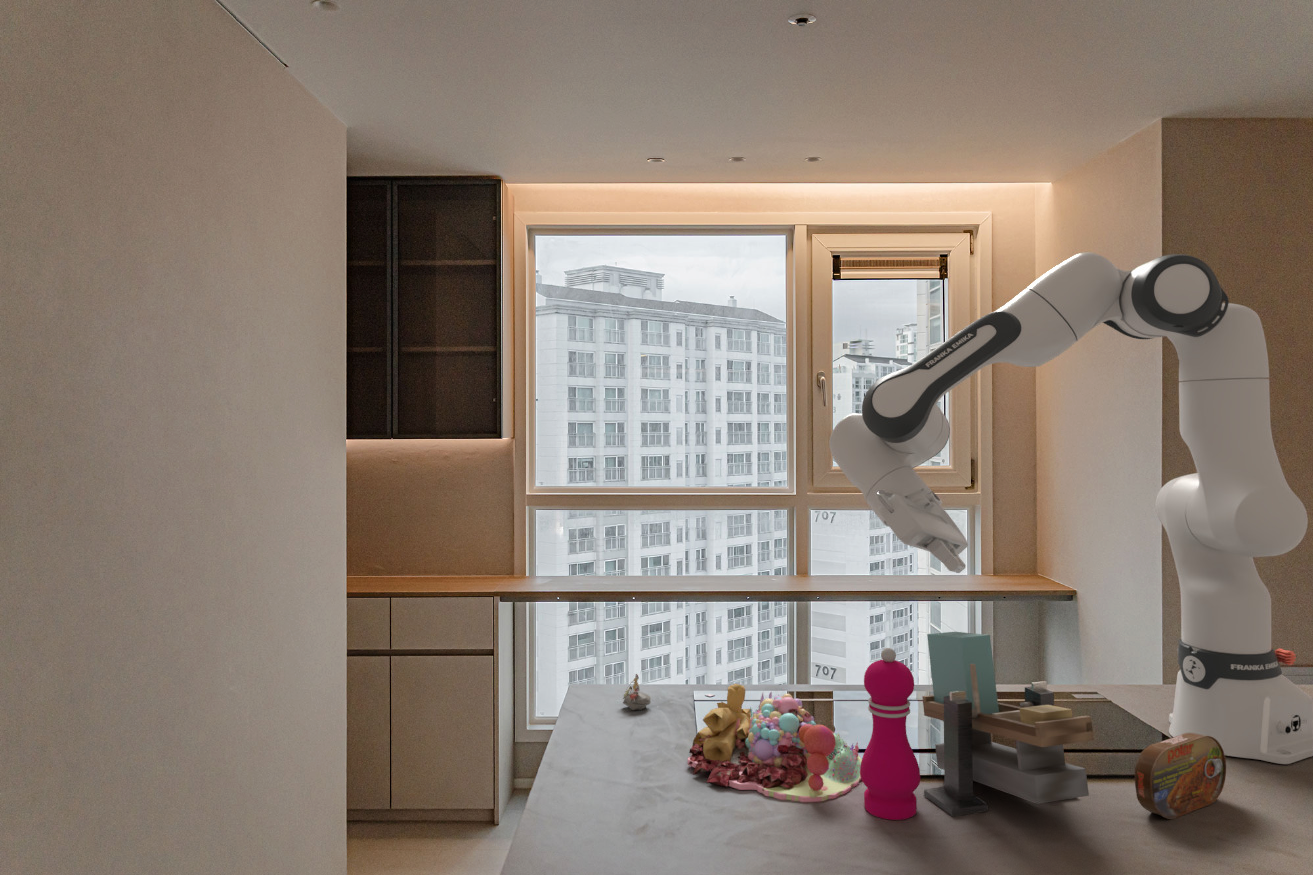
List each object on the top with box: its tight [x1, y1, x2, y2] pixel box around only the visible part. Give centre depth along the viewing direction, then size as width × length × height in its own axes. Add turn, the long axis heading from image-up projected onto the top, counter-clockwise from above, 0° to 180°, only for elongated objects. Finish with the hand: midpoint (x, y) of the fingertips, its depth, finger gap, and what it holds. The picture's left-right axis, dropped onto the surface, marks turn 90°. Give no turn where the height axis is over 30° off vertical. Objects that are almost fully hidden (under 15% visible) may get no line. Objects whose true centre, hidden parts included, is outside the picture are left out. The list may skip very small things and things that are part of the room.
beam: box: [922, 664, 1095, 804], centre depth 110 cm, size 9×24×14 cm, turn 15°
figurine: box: [622, 673, 652, 711], centre depth 146 cm, size 5×4×6 cm
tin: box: [1134, 733, 1227, 820], centre depth 106 cm, size 15×3×8 cm, turn 117°
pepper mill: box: [860, 647, 921, 821], centre depth 107 cm, size 7×7×20 cm
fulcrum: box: [923, 680, 1055, 817], centre depth 110 cm, size 18×6×14 cm, turn 105°
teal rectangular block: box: [926, 631, 999, 714], centre depth 117 cm, size 4×8×10 cm, turn 15°
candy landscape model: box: [687, 683, 862, 803], centre depth 122 cm, size 25×24×9 cm
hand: (959, 569), depth 126 cm, fingers closed
